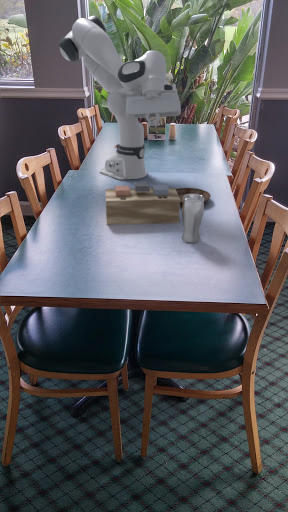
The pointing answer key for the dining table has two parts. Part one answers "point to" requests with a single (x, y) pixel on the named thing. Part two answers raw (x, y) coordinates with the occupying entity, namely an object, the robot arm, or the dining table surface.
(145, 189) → the charcoal key
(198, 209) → the beer glass
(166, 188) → the slate key
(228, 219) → the dining table surface
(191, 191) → the plant saucer
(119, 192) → the terracotta key
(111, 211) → the wooden key base
